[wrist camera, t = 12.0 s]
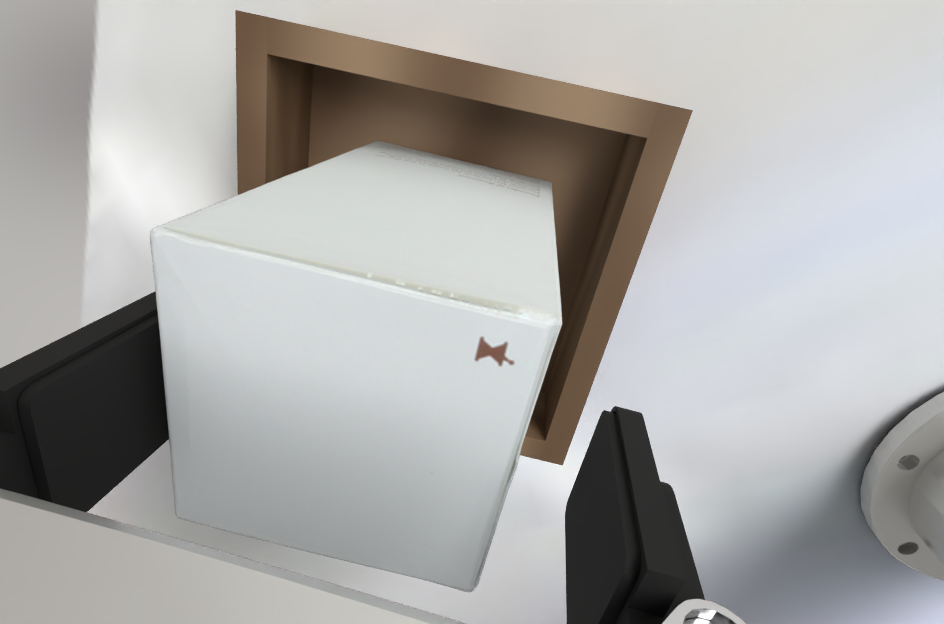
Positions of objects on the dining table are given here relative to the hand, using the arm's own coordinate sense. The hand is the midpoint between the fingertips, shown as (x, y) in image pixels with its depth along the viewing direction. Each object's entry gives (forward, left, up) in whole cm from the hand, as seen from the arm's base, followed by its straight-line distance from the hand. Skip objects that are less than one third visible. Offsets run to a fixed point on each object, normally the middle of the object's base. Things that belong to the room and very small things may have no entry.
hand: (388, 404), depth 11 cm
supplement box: (+1, 0, -11) cm, 11 cm away
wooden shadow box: (+1, 0, -12) cm, 12 cm away
